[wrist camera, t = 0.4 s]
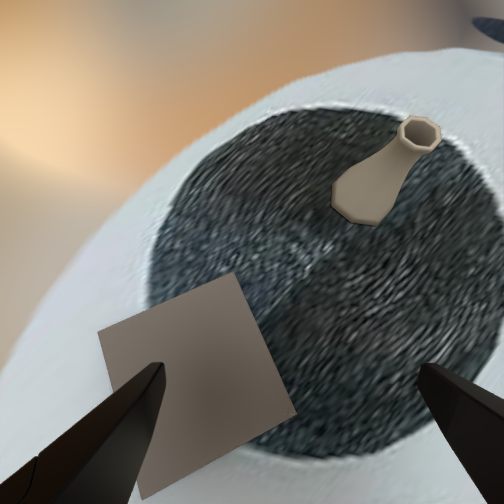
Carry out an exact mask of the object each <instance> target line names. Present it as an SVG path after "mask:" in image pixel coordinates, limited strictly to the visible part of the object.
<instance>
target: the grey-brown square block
mask: <svg viewBox="0 0 504 504" xmlns="http://www.w3.org/2000/svg"><path fill="white" fill-rule="evenodd" d="M98 336H99V340H100V343H101V347H102V351H103V355H104V359H105V362H106V366H107V370H108V374H109V378H110V381H111V385H112V389H113V393H114V392H115V391H116V390H118V389H119V388H120V387H121V386H122V385H124V384H125V383H126V382H127V381H129V380H130V379H131V378H132V377H134V376H135V375H136V374H137V373H138V372H140V371H141V370H142V369H143V368H145V367H146V366H147V365H148V364H150V363H151V362H163V363H164V364H165V372H166V389H165V393H164V396H163V400H162V404H161V407H160V411H159V415H158V418H157V422H156V426H155V429H154V433H153V436H152V439H151V442H150V445H149V448H148V451H147V453H146V456H145V459H144V461H143V464H142V466H141V469H140V472H139V474H138V477H137V484H138V488H139V491H140V495H141V499H142V500H144V499H146V498H148V497H149V496H151V495H153V494H155V493H157V492H158V491H160V490H162V489H164V488H166V487H167V486H169V485H171V484H173V483H174V482H176V481H178V480H180V479H182V478H183V477H185V476H187V475H189V474H191V473H192V472H194V471H196V470H198V469H200V468H201V467H203V466H205V465H207V464H209V463H210V462H212V461H214V460H216V459H218V458H219V457H221V456H223V455H225V454H227V453H228V452H230V451H232V450H234V449H236V448H237V447H239V446H241V445H243V444H244V443H246V442H248V441H250V440H252V439H253V438H255V437H257V436H259V435H261V434H262V433H264V432H266V431H268V430H270V429H271V428H273V427H275V426H277V425H279V424H280V423H282V422H284V421H286V420H288V419H289V418H291V417H293V416H295V415H297V413H296V411H295V408H294V406H293V404H292V402H291V399H290V397H289V395H288V393H287V390H286V388H285V386H284V384H283V381H282V379H281V377H280V375H279V373H278V370H277V368H276V366H275V364H274V361H273V359H272V357H271V355H270V352H269V350H268V348H267V346H266V343H265V341H264V339H263V337H262V334H261V332H260V330H259V328H258V325H257V323H256V321H255V319H254V317H253V314H252V312H251V310H250V308H249V305H248V303H247V301H246V299H245V296H244V294H243V292H242V290H241V287H240V285H239V283H238V281H237V278H236V276H235V274H234V272H231V273H229V274H227V275H224V276H222V277H220V278H218V279H215V280H213V281H211V282H209V283H206V284H204V285H202V286H200V287H197V288H195V289H193V290H191V291H188V292H186V293H184V294H182V295H179V296H177V297H175V298H173V299H170V300H168V301H166V302H164V303H161V304H159V305H157V306H155V307H152V308H150V309H148V310H146V311H143V312H141V313H139V314H137V315H134V316H132V317H130V318H128V319H125V320H123V321H121V322H119V323H116V324H114V325H112V326H110V327H107V328H105V329H103V330H101V331H98Z"/></svg>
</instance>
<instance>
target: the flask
mask: <svg viewBox="0 0 504 504" xmlns="http://www.w3.org/2000/svg"><path fill="white" fill-rule="evenodd" d="M441 140H442V139H441V130H440V126H438V125H437V124H435V123H434V122H432V121H431V120H429V119H428V118H426V117H419V116H411V115H410V116H409V117H408V118H407V119H406V120H405V121H404V122H403V123H402V124H401V125H400V126H399V127H398V134H397V136H396V137H395V138H394V139H393V140H392V142H390V143H389V144H388V145H387V146H386V147H385V148H383V149H382V150H381V151H379V152H377V153H376V154H374V155H372V156H371V157H369V158H367V159H366V160H364V161H362V162H360V163H358V164H356V165H354V166H353V167H351V168H349V169H347V170H346V171H345V172H344V173H343V174H342V175H341V176H340V177H339V178H338V179H337V180H336V181H335V182H334V183H333V184H332V200H331V206H332V207H333V208H334V209H335V210H336V211H338V212H339V213H340V214H341V215H342V216H344V217H345V218H346V219H347V220H349V221H350V222H351V223H358V224H366V225H373V226H377V225H378V224H379V223H380V222H381V220H382V219H383V218H384V217H385V216H386V215H387V214H388V213H389V212H390V210H391V209H392V207H393V205H394V203H395V200H396V198H397V195H398V193H399V190H400V188H401V186H402V184H403V182H404V180H405V178H406V175H407V173H408V171H409V170H410V169H411V167H412V166H413V164H414V163H415V162H416V160H417V159H418V158H419V157H420V156H421V155H423V154H428V153H430V152H431V151H432V150H433V149H434V148H435V147H436V146H437V145H438V144H439V142H440V141H441Z"/></svg>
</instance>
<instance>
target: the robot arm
mask: <svg viewBox="0 0 504 504" xmlns="http://www.w3.org/2000/svg"><path fill="white" fill-rule="evenodd" d="M417 387H418V389H419V391H420V393H421V395H422V397H423V399H424V401H425V402H426V404H427V406H428V408H429V410H430V412H431V413H432V415H433V417H434V419H435V421H436V423H437V424H438V426H439V428H440V430H441V432H442V433H443V435H444V437H445V439H446V440H447V442H448V443H449V445H450V447H451V448H452V450H453V451H454V453H455V454H456V456H457V457H458V459H459V461H460V462H461V464H462V465H463V467H464V468H465V470H466V471H467V473H468V474H469V476H470V478H471V479H472V481H473V482H474V484H475V485H476V487H477V488H478V490H479V491H480V493H481V494H482V496H483V498H484V499H485V501H486V502H487V504H504V399H502V398H500V397H498V396H496V395H495V394H493V393H491V392H489V391H487V390H485V389H483V388H481V387H480V386H478V385H476V384H474V383H472V382H470V381H468V380H466V379H464V378H463V377H461V376H459V375H457V374H455V373H453V372H451V371H449V370H448V369H446V368H444V367H442V366H440V365H438V364H435V363H424V364H422V365H421V368H420V372H419V375H418V379H417ZM165 389H166V372H165V364H164V363H163V362H151V363H150V364H148V365H147V366H146V367H145V368H143V369H142V370H141V371H140V372H138V373H137V374H136V375H135V376H134V377H132V378H131V379H130V380H129V381H127V382H126V383H125V384H124V385H122V386H121V387H120V388H119V389H118V390H116V391H115V392H114V393H113V394H111V395H110V396H109V397H108V398H106V399H105V400H104V401H103V402H102V403H100V404H99V405H98V406H97V407H95V408H94V409H93V410H92V411H90V412H89V413H88V414H87V415H86V416H84V417H83V418H82V419H81V420H79V421H78V422H77V423H76V424H74V425H73V426H72V427H71V428H69V429H68V430H67V431H66V432H65V433H63V434H62V435H61V436H60V437H58V438H57V439H56V440H55V441H53V442H52V443H51V444H50V445H49V446H47V447H46V448H45V449H44V450H42V451H41V452H40V453H39V454H38V456H35V457H34V458H32V459H31V460H30V461H29V462H27V463H26V464H25V465H24V466H22V467H21V468H20V469H19V470H18V471H16V472H15V473H14V474H12V475H11V476H10V477H9V478H7V479H6V480H5V481H4V482H2V483H1V484H0V504H128V501H129V498H130V496H131V493H132V490H133V488H134V485H135V482H136V480H137V477H138V474H139V472H140V469H141V466H142V464H143V461H144V459H145V456H146V453H147V451H148V448H149V445H150V442H151V439H152V436H153V433H154V429H155V426H156V422H157V418H158V415H159V411H160V407H161V404H162V400H163V396H164V393H165Z"/></svg>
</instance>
